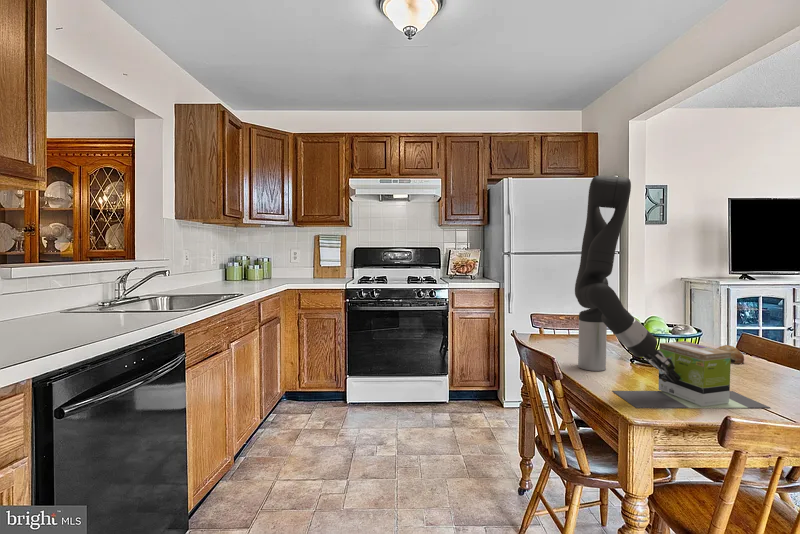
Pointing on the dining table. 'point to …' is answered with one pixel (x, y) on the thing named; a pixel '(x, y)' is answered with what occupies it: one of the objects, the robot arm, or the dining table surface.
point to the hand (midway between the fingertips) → (676, 379)
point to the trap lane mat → (681, 400)
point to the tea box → (697, 373)
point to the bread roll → (733, 354)
